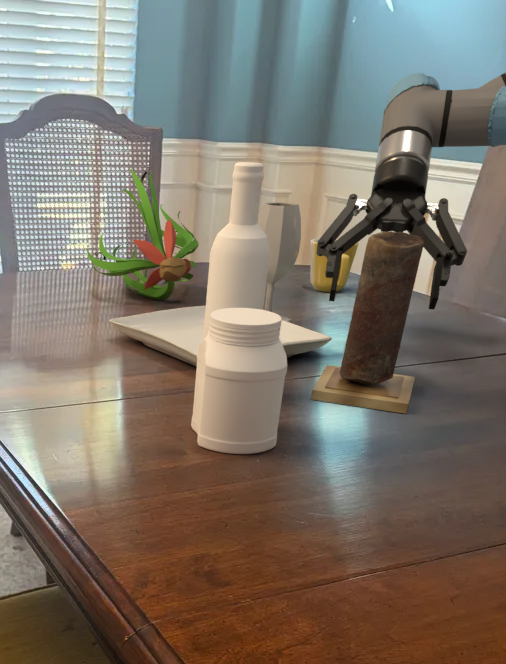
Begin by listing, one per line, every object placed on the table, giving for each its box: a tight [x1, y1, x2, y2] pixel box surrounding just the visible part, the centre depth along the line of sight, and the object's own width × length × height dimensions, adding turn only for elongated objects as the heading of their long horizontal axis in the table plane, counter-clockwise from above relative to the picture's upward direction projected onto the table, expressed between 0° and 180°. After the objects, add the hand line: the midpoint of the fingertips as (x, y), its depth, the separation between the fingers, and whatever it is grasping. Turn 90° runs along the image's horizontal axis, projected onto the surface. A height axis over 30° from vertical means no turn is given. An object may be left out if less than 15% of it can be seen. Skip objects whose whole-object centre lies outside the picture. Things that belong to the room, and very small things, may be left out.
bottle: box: [203, 161, 270, 339], centre depth 103 cm, size 8×8×30 cm
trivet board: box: [310, 364, 416, 415], centre depth 112 cm, size 13×13×2 cm
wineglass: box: [257, 201, 302, 323], centre depth 142 cm, size 9×9×21 cm
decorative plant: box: [86, 168, 199, 301], centre depth 160 cm, size 26×25×30 cm
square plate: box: [108, 304, 333, 367], centre depth 131 cm, size 27×27×4 cm
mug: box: [309, 237, 359, 293], centre depth 170 cm, size 14×10×10 cm
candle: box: [340, 231, 424, 385], centre depth 107 cm, size 8×7×20 cm
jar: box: [190, 308, 288, 455], centre depth 93 cm, size 12×10×15 cm
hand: (382, 300), depth 108 cm, fingers open, 13 cm apart
